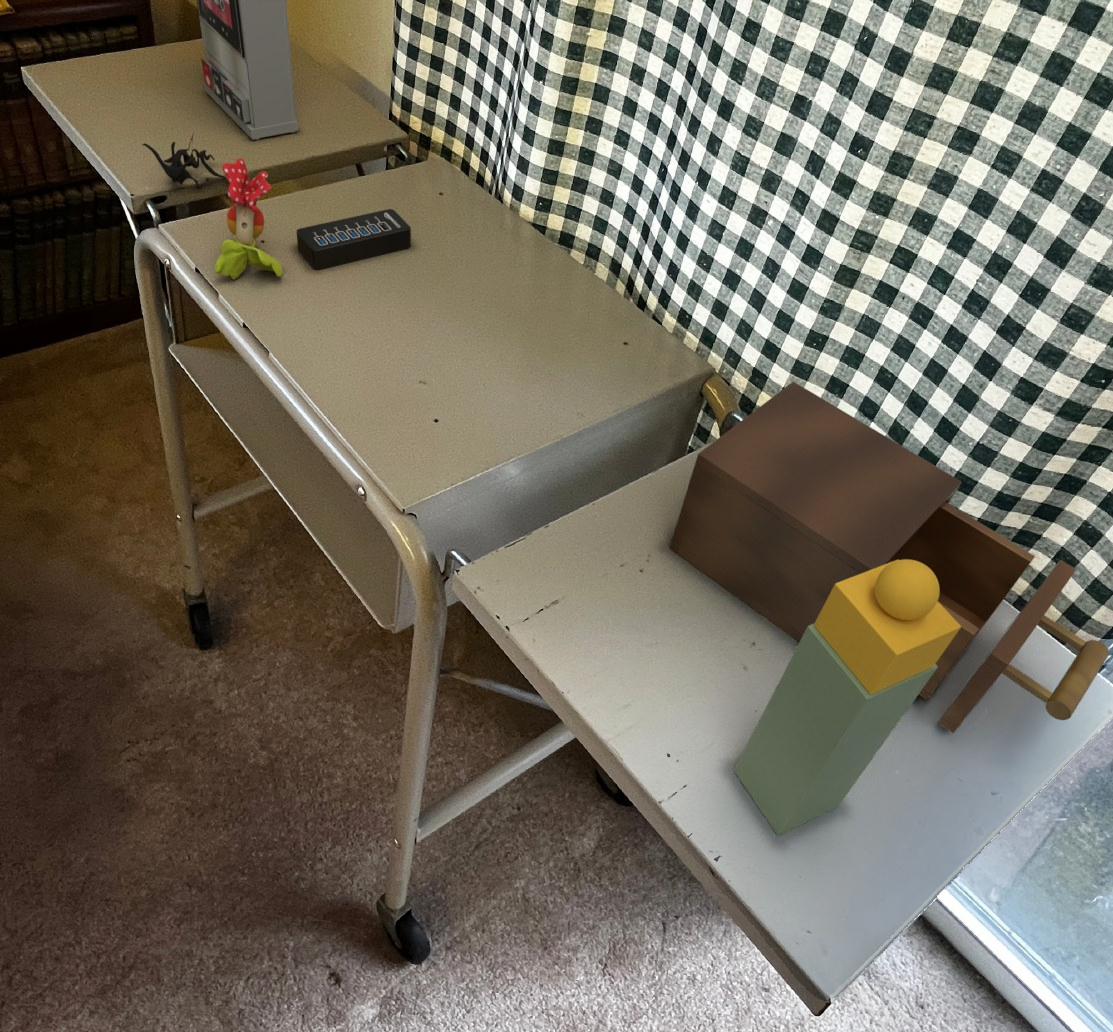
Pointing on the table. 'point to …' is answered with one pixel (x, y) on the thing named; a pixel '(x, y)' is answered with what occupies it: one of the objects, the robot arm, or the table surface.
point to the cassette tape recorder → (249, 63)
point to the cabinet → (802, 505)
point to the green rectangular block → (818, 734)
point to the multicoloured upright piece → (244, 223)
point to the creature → (178, 170)
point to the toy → (887, 623)
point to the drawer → (973, 596)
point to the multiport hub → (353, 239)
